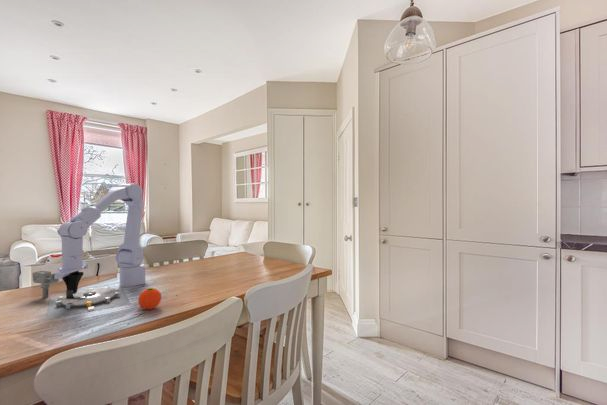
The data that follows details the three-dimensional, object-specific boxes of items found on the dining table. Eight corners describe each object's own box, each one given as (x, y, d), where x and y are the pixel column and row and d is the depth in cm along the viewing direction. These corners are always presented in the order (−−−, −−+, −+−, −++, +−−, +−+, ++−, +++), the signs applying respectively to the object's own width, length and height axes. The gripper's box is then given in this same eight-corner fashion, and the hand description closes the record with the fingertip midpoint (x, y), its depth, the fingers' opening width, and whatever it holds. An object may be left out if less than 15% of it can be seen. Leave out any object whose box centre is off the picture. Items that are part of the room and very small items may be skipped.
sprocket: (118, 287, 114) (118, 277, 114) (120, 301, 99) (121, 289, 99) (59, 296, 103) (59, 284, 103) (52, 313, 88) (52, 299, 88)
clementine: (140, 305, 99) (141, 285, 99) (162, 303, 101) (162, 283, 101) (136, 314, 91) (136, 292, 91) (159, 311, 94) (160, 290, 94)
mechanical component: (52, 302, 100) (52, 274, 100) (29, 299, 103) (30, 272, 102) (60, 299, 103) (61, 272, 103) (39, 296, 105) (39, 270, 105)
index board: (121, 289, 116) (122, 285, 116) (130, 306, 97) (130, 302, 97) (50, 300, 102) (50, 296, 102) (44, 323, 83) (45, 318, 83)
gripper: (73, 251, 105) (72, 287, 106) (44, 260, 91) (43, 301, 91) (93, 251, 107) (93, 286, 107) (68, 259, 92) (68, 300, 92)
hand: (72, 293), depth 99 cm, fingers closed, pressing on sprocket
